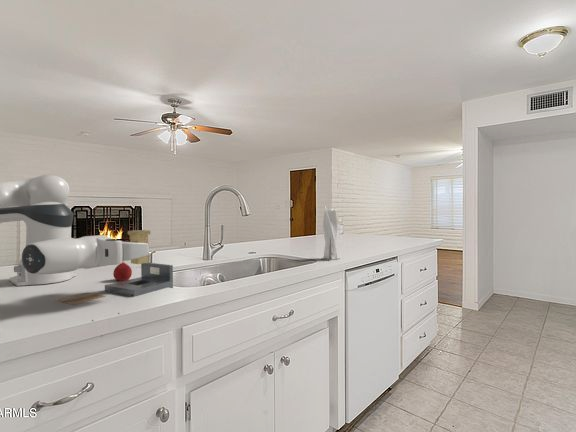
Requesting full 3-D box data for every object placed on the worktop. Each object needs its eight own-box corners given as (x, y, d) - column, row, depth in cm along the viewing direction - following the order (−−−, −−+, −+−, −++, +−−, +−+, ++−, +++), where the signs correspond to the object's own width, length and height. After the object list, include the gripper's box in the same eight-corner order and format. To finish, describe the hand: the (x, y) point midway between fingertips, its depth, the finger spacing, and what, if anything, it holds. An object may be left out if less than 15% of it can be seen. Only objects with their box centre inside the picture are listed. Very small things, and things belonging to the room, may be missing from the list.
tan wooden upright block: (128, 263, 98) (127, 231, 97) (141, 261, 102) (140, 230, 101) (137, 264, 95) (137, 231, 95) (150, 262, 100) (150, 230, 99)
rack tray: (104, 294, 96) (104, 268, 96) (144, 284, 109) (144, 262, 108) (134, 300, 90) (133, 273, 89) (173, 289, 102) (172, 265, 102)
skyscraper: (318, 258, 163) (318, 205, 163) (329, 257, 169) (328, 205, 168) (331, 260, 157) (331, 205, 157) (341, 259, 163) (341, 205, 162)
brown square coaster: (54, 304, 86) (54, 300, 86) (88, 296, 94) (88, 292, 94) (72, 309, 82) (72, 304, 82) (106, 300, 90) (106, 296, 90)
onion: (127, 280, 115) (127, 259, 115) (134, 283, 111) (134, 260, 111) (110, 283, 111) (110, 261, 110) (117, 286, 107) (117, 263, 107)
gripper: (77, 259, 92) (121, 253, 104) (120, 265, 82) (163, 257, 95) (77, 238, 92) (121, 234, 104) (120, 241, 82) (163, 237, 94)
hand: (141, 245), depth 99 cm, fingers closed on tan wooden upright block, 4 cm apart
